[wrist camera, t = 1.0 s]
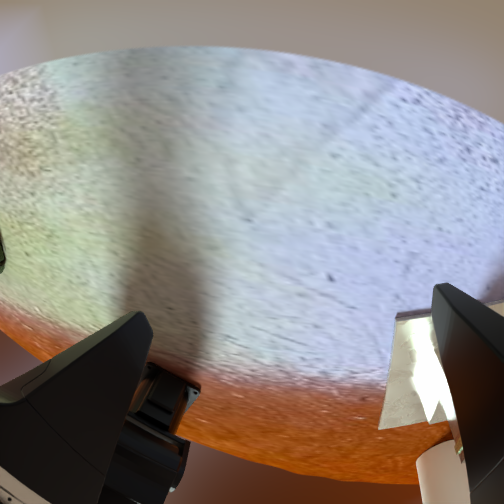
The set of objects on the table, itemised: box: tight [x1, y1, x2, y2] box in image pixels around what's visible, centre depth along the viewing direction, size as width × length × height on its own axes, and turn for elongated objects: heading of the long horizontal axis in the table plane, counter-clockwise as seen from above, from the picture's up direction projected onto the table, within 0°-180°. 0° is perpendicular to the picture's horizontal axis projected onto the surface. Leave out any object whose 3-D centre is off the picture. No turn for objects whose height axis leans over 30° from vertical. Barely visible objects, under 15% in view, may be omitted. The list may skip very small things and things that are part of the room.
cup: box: [416, 440, 470, 504], centre depth 24 cm, size 8×8×16 cm
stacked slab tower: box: [378, 299, 504, 464], centre depth 21 cm, size 16×16×11 cm
